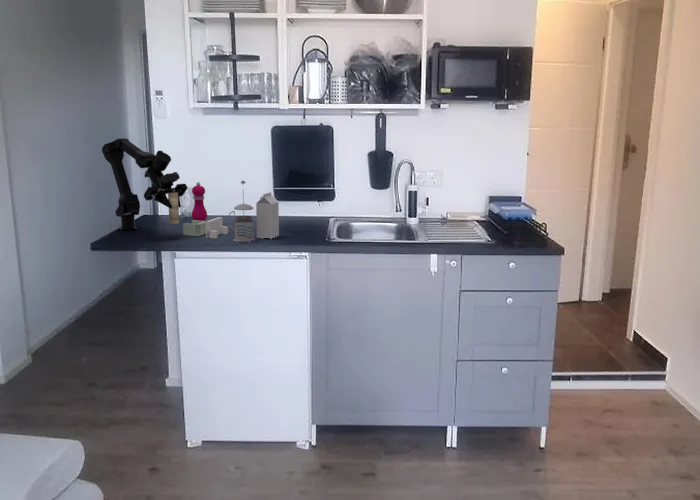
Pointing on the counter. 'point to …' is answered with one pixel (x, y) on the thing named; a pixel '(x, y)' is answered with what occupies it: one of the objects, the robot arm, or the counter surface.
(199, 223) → the cradle
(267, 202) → the milk carton
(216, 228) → the backstop wall
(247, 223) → the french press
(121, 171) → the robot arm
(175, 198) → the dowel
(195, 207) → the pepper mill
